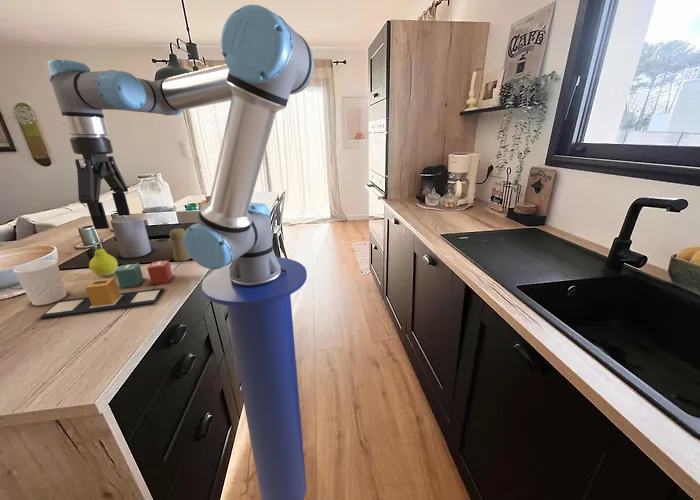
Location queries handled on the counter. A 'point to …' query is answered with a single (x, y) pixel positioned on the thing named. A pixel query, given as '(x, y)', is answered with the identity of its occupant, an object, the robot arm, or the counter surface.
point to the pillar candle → (131, 236)
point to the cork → (179, 245)
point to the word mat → (86, 307)
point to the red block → (160, 272)
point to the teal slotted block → (129, 275)
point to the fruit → (103, 263)
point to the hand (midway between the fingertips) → (114, 221)
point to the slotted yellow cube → (103, 292)
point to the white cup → (41, 281)
